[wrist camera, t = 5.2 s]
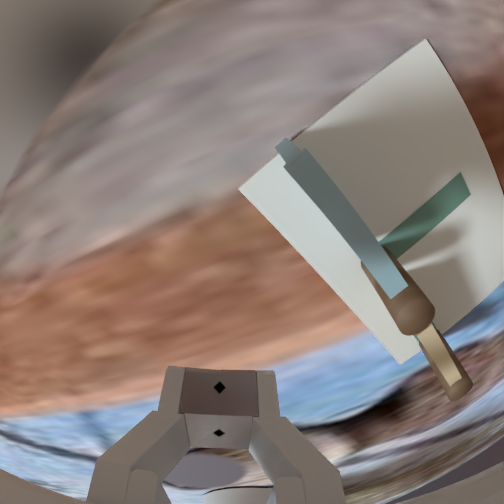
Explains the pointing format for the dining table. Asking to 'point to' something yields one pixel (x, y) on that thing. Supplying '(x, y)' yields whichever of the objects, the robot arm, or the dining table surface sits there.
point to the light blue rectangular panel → (341, 215)
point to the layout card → (398, 195)
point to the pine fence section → (424, 331)
